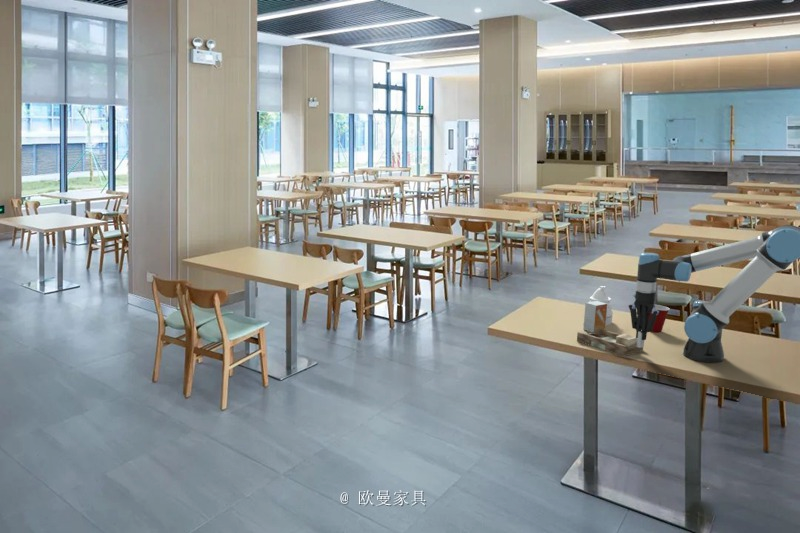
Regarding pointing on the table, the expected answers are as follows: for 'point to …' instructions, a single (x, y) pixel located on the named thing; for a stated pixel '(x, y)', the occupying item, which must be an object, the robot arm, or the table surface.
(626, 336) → the block
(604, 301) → the white piece
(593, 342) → the wooden tray
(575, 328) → the table surface
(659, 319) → the plastic cup
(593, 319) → the small box
